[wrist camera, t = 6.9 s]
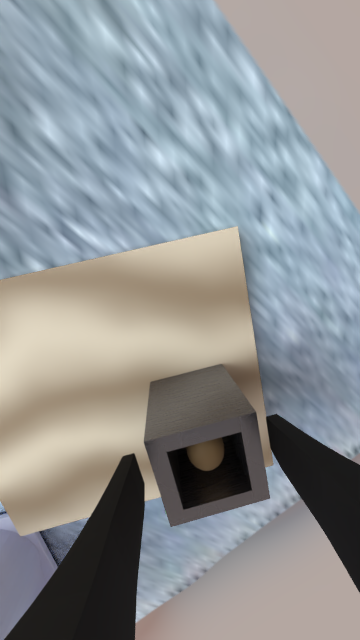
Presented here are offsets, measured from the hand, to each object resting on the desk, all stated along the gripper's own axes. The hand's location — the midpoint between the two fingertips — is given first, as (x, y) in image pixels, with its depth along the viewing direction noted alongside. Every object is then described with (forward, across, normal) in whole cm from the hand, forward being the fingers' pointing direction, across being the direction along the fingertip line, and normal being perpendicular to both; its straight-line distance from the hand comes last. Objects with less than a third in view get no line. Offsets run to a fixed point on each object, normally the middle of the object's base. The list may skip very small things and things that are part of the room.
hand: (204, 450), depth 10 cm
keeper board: (+5, +5, -2) cm, 7 cm away
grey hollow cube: (+4, 0, 0) cm, 4 cm away
